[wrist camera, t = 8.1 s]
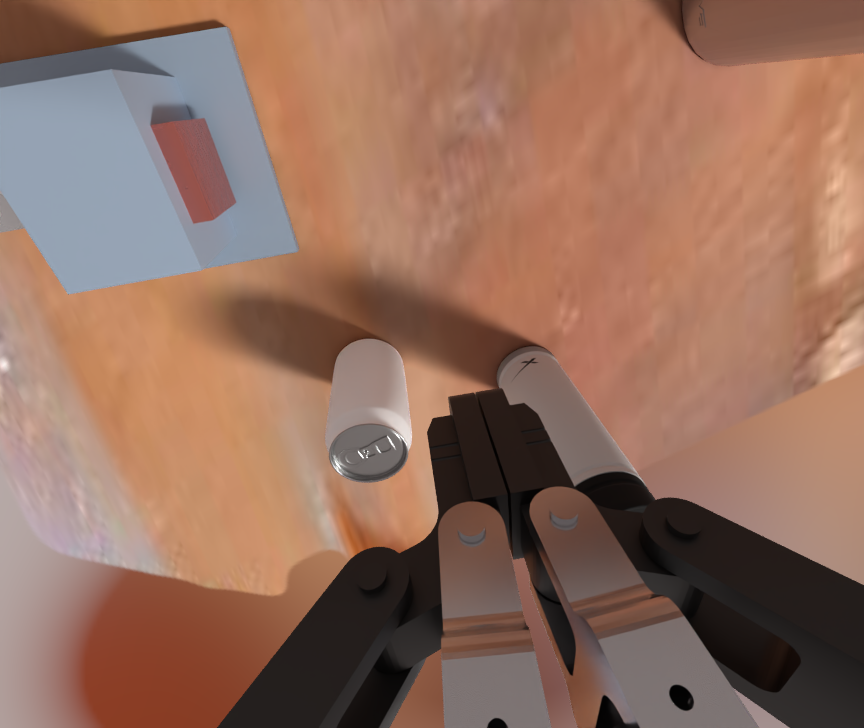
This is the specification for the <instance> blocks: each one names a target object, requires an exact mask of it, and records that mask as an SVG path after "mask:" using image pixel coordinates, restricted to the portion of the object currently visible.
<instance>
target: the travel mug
mask: <svg viewBox="0 0 864 728" xmlns="http://www.w3.org/2000/svg"><path fill="white" fill-rule="evenodd" d="M497 384H498V386H499V388H502V389H503V390H504V393H505V395H506V397H507V400H508V402H509V404H510V405H514V404H520V403H525V404H526V405H528V406H529V407H530V408H531V409H533V410H534V411H535V412H537V413H538V415H539V417H540V419H541V421H542V423H543V425H544V427H545V430H546V431H547V433H548V435H549V437H550V439H551V442H552V443H553V445H554V447H555V448H556V450H557V452H558V454H559V456H560V458H561V460H562V462H563V464H564V466H565V468H566V470H567V472H568V474H569V476H570V478H571V480H572V482H573V484H574V486H575V487H576V489H577V490H578V491H579V492H581V493H583V494H584V495H586V496H587V497H588V498H589V499H590V500H592V502H593V503H595V504H597V505H599V506H602V507H605V508H608V509H614V510H622V511H631V512H640V513H644V510H645V508H646V507H647V506H648V505H649V504H650V503H651V502H653V501H655V498H654V497H653V495H652V494H651V493H650V492H649V490H648V489H647V487H646V485H645V483H644V482H643V480H642V478H641V477H640V476H639V475H638V473H637V472H636V470H635V469H634V467H633V466H632V465H631V463H630V462H629V460H628V459H627V458H626V456H625V455H624V453H623V452H622V451H621V449H620V448H619V446H618V445H617V444H616V442H615V441H614V439H613V438H612V437H611V435H610V434H609V432H608V431H607V430H606V428H605V427H604V425H603V424H602V423H601V421H600V420H599V418H598V417H597V416H596V414H595V413H594V411H593V410H592V409H591V407H590V406H589V404H588V403H587V402H586V400H585V399H584V398H583V396H582V395H581V393H580V392H579V391H578V389H577V388H576V386H575V385H574V384H573V382H572V381H571V379H570V378H569V377H568V375H567V374H566V372H565V371H564V370H563V368H562V367H561V365H560V364H559V363H558V361H557V360H556V358H555V357H554V356H553V354H552V353H551V352H549V351H548V350H546V349H544V348H541V347H536V346H530V347H524V348H520V349H518V350H515V351H514V352H512V353H511V354H509V355H508V356H507V357H506V358H505V359H504V360H503V361H502V363H501V364H500V366H499V368H498V371H497Z"/></svg>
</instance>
